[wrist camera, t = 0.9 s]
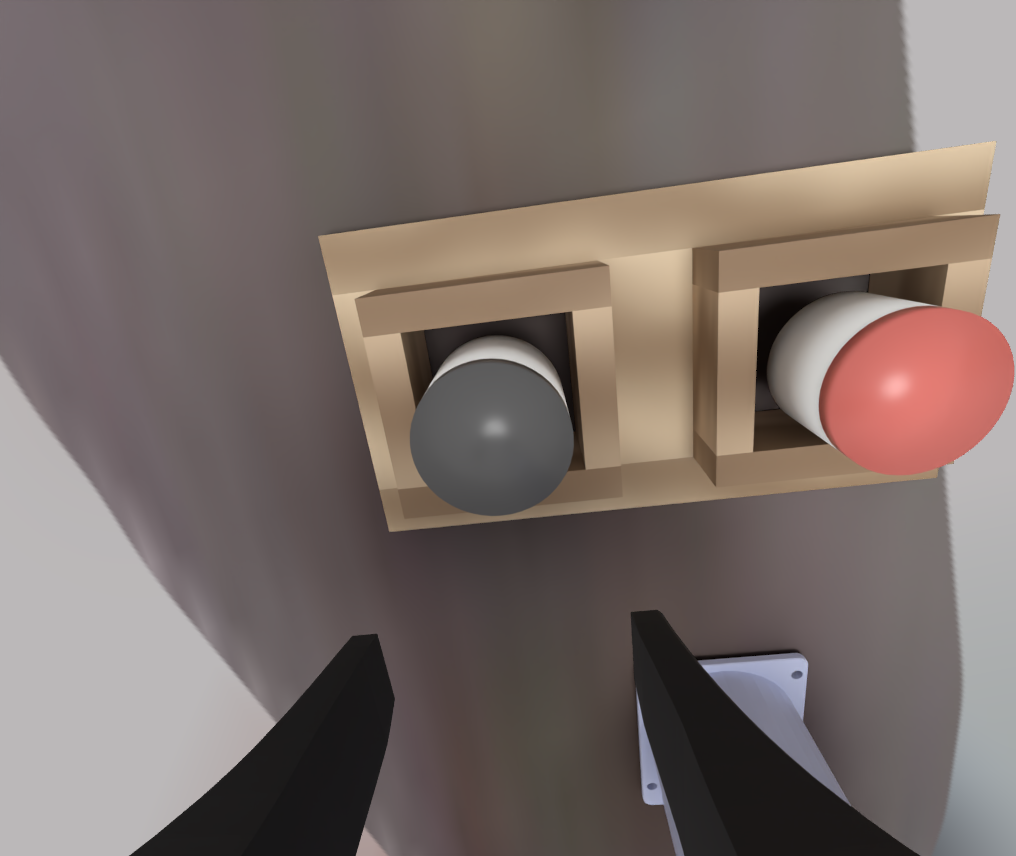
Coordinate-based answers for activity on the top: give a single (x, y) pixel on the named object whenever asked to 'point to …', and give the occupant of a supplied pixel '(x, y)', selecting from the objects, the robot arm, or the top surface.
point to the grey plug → (493, 428)
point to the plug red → (891, 379)
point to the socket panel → (656, 318)
